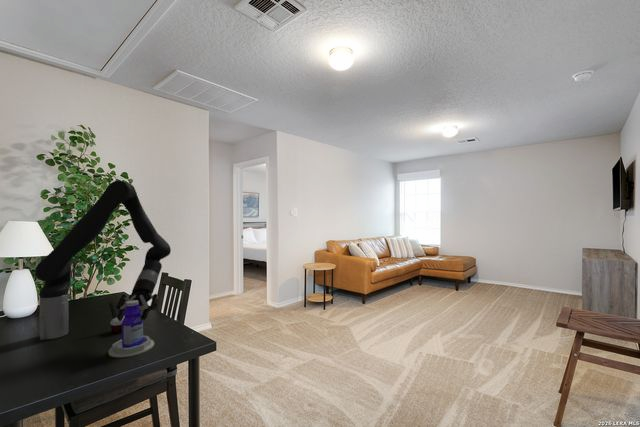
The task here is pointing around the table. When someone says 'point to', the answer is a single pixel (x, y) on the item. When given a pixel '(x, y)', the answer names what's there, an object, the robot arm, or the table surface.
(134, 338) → the bottle
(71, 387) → the table surface
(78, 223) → the robot arm
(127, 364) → the table surface
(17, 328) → the table surface
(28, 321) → the table surface
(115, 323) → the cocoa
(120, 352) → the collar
